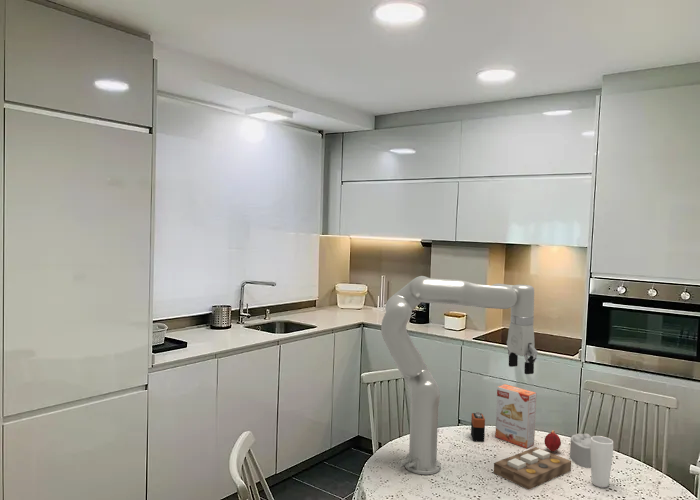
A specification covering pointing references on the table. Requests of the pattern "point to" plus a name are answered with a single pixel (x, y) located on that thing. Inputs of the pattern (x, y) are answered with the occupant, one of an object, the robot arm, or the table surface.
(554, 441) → the onion
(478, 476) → the table surface
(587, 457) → the lumpy-topped squat cylinder
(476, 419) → the battery
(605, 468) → the drinking glass
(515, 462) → the button left
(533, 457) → the button middle
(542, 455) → the button right
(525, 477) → the button board
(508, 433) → the cracker box
